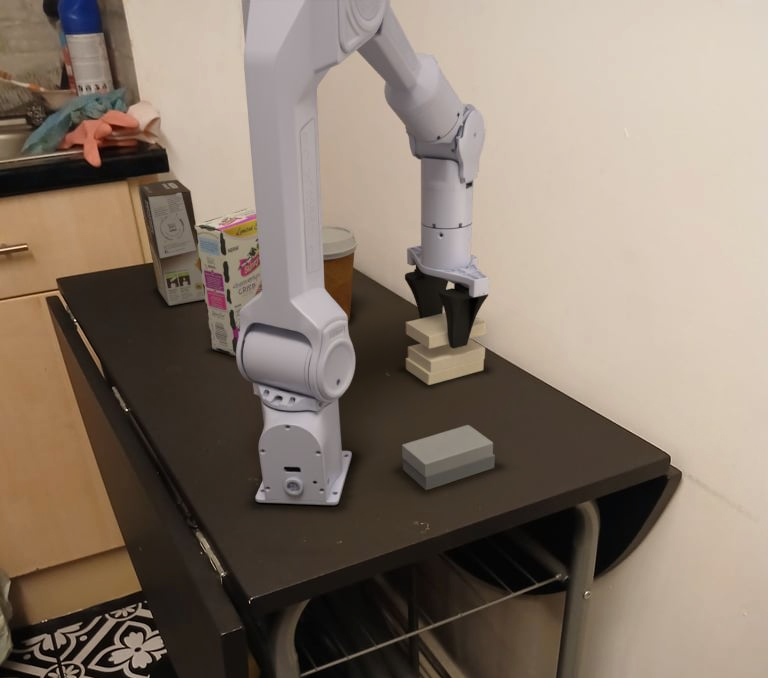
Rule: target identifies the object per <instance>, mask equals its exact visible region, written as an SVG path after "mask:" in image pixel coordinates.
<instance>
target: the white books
mask: <svg viewBox="0 0 768 678" xmlns="http://www.w3.org/2000/svg"><path fill="white" fill-rule="evenodd" d="M485 359H486V347H485V346H483V345H482V344H481V343H478V342H477V341H475V340H473V339H472V338H470V339H469V340H468V343H467V345H466V346H462V347H458V348H451V347H450V345H449V344H446V345H442V346H438V347H434V348H430V349H429V348H427V347H426V346H424V345H423V344H421V343H417V344H412V345H409V346H407V357H405V359H404V360H405V363H404V364H405V370H406V371H408V372H409V373H410V374H412V375H413V376H414V377H416V378H418V379H419V380H420V381H422V382H423V383H425V384H426V385H427V386H432V385H435V384H438V383H442V382H445V381H449V380H453V379H456V378H460V377H463V376H467V375H471V374H474V373H478V372H482V371H484V368H485V367H484V365H485Z"/></svg>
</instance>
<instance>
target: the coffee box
mask: <svg viewBox="0 0 768 678" xmlns="http://www.w3.org/2000/svg"><path fill="white" fill-rule="evenodd" d="M137 191H138V195H139V202H140V207H141V210H142V216H143V220H144V225H145V230H146V235H147V241H148V244H149V250H150V255H151V260H152V265H153V270H154V275H155V276H154V277H155V280H156V285H157V291H158V293H160V295H161V297H162V298H163V299H164V302H166V304H167V305H168V306H170V307H171V306H177V305H182V304H188V303H193V302H200V301H205V294H204V287H203V282H202V275H201V268H200V261H199V254H198V247H197V240H196V233H195V227H194V225H196V224H197V223H196V218H195V211H194V204H193V199H192V192H191V190H190V189H189V188H188V187H187V186H185V185H184V184H183V183H182V182H181V181H179V180H178V179H171V180H161V181H155V182H154V181H153V182H149V183H142V184H137Z"/></svg>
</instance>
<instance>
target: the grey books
mask: <svg viewBox="0 0 768 678" xmlns="http://www.w3.org/2000/svg"><path fill="white" fill-rule="evenodd" d="M493 452H494V442H493V441H492V440H490V439H489V438H487V437H486V436H484V435H483V433H481V432H479V431H478V430H476V429H475V428H473V427H472V426H471V425H469V424H466V425H462V426H459V427H456V428H452V429H449V430H446V431H443V432H439V433H435V434H433V435H430V436H427V437H422V438H419V439H417V440H412V441H410V442H406V443H403V444H402V445H401V455H402V456H401V457H402V471H404V472H405V473H406V474H407V475H408V476H409V477H410V478H411V479H412V480H414V481H415V482H416V483H417V484H418V485H419V486H420V487H421V488H423V489H424V490H425V491H429V490H432V489H434V488H438V487H441V486H444V485H447V484H449V483H452V482H455V481H459V480H463V479H465V478H468V477H471V476H474V475H477V474H480V473H483V472H486V471H489V470H492V469H495V464H496V463H495V462H496V455H495V454H494V453H493Z"/></svg>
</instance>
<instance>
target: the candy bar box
mask: <svg viewBox="0 0 768 678" xmlns="http://www.w3.org/2000/svg"><path fill="white" fill-rule="evenodd" d="M194 227H195V233H196V240H197V247H198V254H199V261H200V268H201V275H202V282H203V287H204V294H205V300H204V302H205V308H206V315H207V322H208V328H209V336H210V342H211V349H212V350H213V351H216V352H220V353H223V354H226V355H230V356H232V357H236V348H237V342H238V338H239V334H240V316H239V311H240V310H241V309H242V308H243V307H244V306H245V305H246V304H247V303H248V302H249V301H250V300H251V299H252V298H254V297H255V296H256V295H257V294H259V293H260V292H261V291H262V281H261V269H260V257H259V244H258V232H257V219H256V207H255V206H250V207H248V208H243V209H241V210H238V211H235V212H232V213H228V214H225V215H222V216H219V217H215V218H212V219H209V220H206V221H202V222H199V223H196V225H194Z"/></svg>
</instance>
